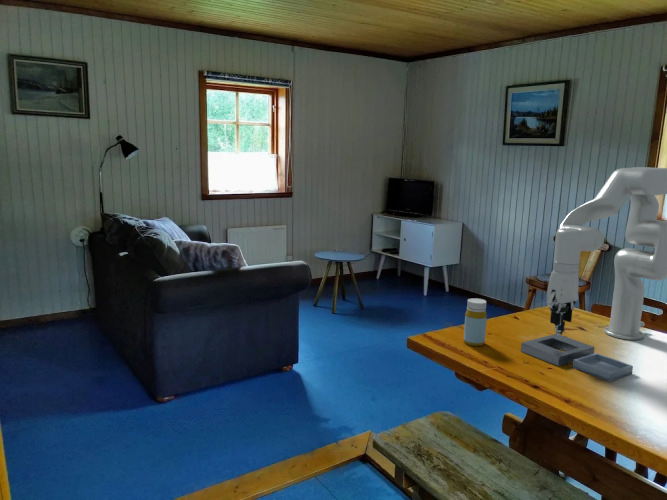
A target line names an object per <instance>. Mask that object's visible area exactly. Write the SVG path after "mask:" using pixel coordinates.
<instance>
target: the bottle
mask: <svg viewBox="0 0 667 500" xmlns="http://www.w3.org/2000/svg"><path fill="white" fill-rule="evenodd" d="M466 301H467V305H466V311H465V314H464V329H463V342H464V343H465V344H466V345H468V346H470V347H471V346H472V347H481V346H483V345H484V344H486V343H485V342H486V331H487V320H488V319H487V318H488V317H487V316H488V315H487V311H486V310H487V300H486V299H483V298H477V297H476V298H474V297H473V298H468V299H467V300H466Z"/></svg>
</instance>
